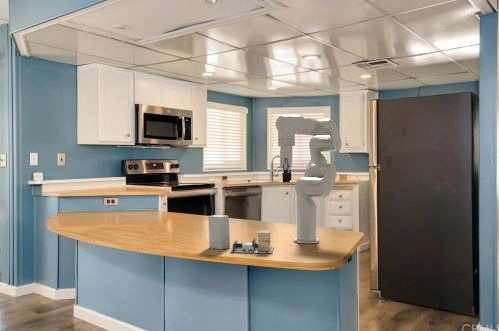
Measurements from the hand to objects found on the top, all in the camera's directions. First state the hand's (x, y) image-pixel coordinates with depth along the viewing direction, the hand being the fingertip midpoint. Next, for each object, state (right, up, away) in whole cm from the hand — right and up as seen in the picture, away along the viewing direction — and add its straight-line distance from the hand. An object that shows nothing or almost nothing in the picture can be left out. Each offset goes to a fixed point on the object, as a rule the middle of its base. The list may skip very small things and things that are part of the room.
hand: (287, 181), depth 191 cm
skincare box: (-31, -31, +4) cm, 44 cm away
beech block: (-10, -30, -2) cm, 32 cm away
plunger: (-17, -30, -3) cm, 35 cm away
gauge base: (-16, -31, -2) cm, 35 cm away
